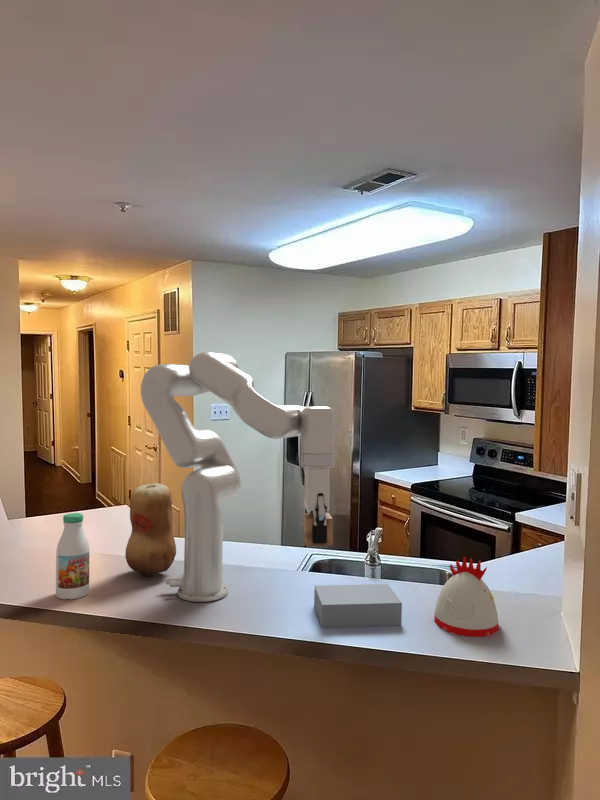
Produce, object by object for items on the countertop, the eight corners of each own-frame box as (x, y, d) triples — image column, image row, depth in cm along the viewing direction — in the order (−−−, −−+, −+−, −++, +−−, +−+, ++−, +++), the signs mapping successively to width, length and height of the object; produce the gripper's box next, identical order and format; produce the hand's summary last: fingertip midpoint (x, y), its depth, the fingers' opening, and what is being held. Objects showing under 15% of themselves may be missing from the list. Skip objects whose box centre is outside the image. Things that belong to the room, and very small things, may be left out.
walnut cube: (305, 546, 126) (305, 519, 126) (303, 539, 132) (303, 513, 132) (332, 545, 127) (332, 518, 127) (328, 538, 133) (328, 512, 133)
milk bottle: (48, 597, 139) (49, 516, 138) (72, 587, 146) (72, 509, 145) (73, 602, 136) (73, 519, 135) (95, 591, 143) (96, 513, 142)
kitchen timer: (489, 643, 119) (491, 572, 118) (425, 627, 126) (427, 560, 126) (504, 620, 131) (506, 555, 130) (445, 607, 138) (447, 545, 138)
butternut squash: (114, 579, 152) (115, 486, 151) (141, 564, 165) (142, 479, 164) (161, 585, 148) (162, 490, 148) (185, 569, 161) (186, 482, 161)
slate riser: (321, 627, 125) (322, 604, 125) (314, 606, 137) (314, 585, 136) (401, 625, 127) (401, 602, 127) (387, 604, 139) (387, 584, 138)
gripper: (297, 456, 138) (298, 530, 138) (305, 465, 121) (305, 550, 121) (328, 456, 138) (328, 529, 139) (340, 465, 121) (340, 549, 121)
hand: (317, 538), depth 130 cm, fingers closed on walnut cube, 6 cm apart
